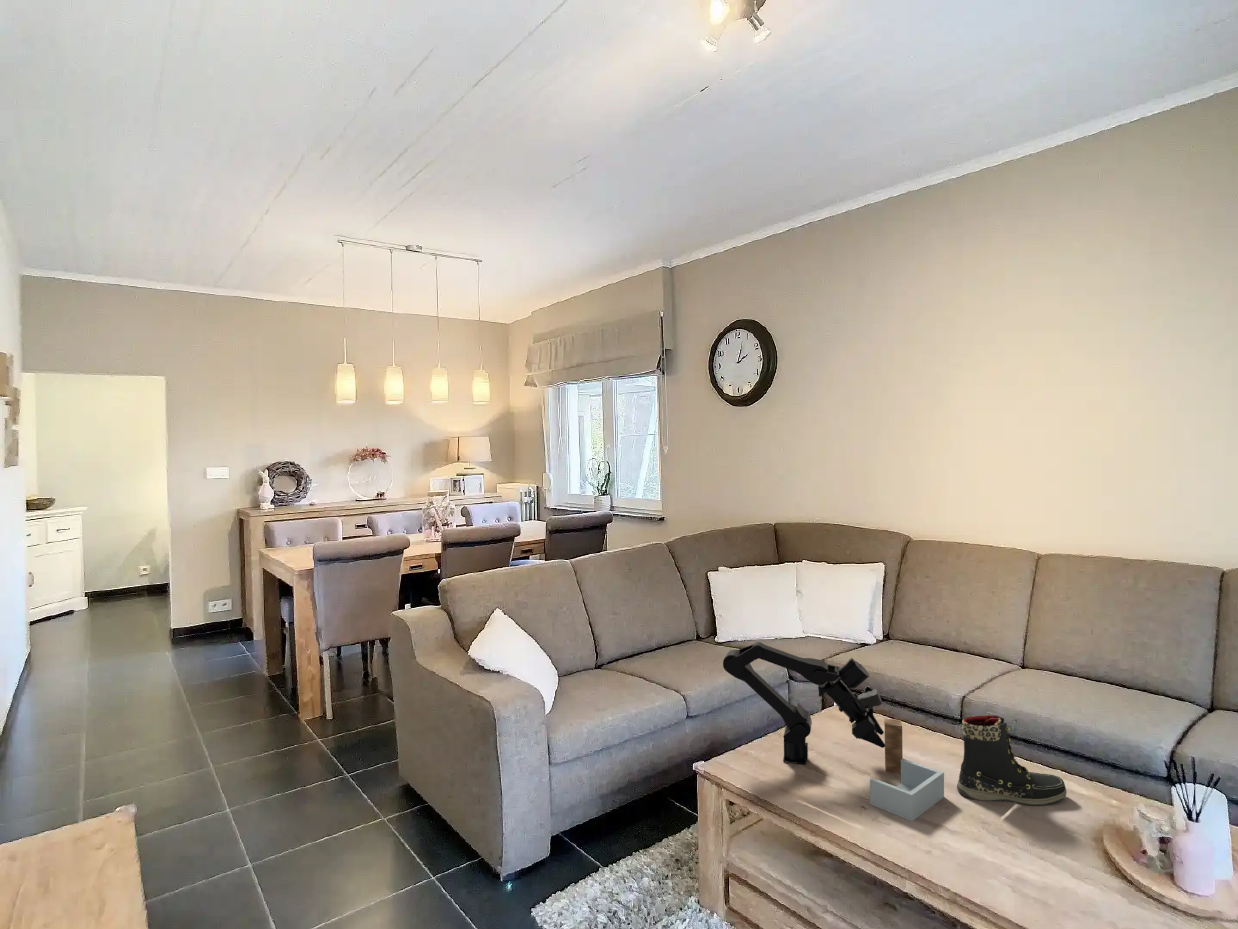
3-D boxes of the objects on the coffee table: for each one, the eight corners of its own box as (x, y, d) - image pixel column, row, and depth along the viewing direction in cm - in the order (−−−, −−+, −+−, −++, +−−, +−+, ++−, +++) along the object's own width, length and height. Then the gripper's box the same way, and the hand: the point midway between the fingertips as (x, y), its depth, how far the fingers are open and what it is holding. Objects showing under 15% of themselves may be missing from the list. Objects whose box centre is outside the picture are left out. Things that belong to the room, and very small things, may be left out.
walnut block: (885, 773, 196) (885, 724, 196) (885, 766, 201) (884, 718, 200) (902, 775, 195) (902, 726, 195) (901, 768, 199) (901, 720, 199)
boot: (1075, 802, 178) (1074, 724, 178) (983, 814, 174) (983, 734, 173) (1037, 780, 191) (1037, 706, 190) (951, 790, 186) (950, 715, 186)
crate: (870, 806, 179) (869, 779, 179) (903, 783, 190) (902, 758, 190) (912, 823, 170) (911, 795, 170) (944, 798, 182) (943, 772, 182)
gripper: (865, 691, 191) (907, 736, 188) (863, 670, 209) (902, 711, 205) (835, 716, 194) (876, 760, 190) (836, 693, 211) (874, 733, 208)
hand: (883, 740), depth 198 cm, fingers open, 9 cm apart
